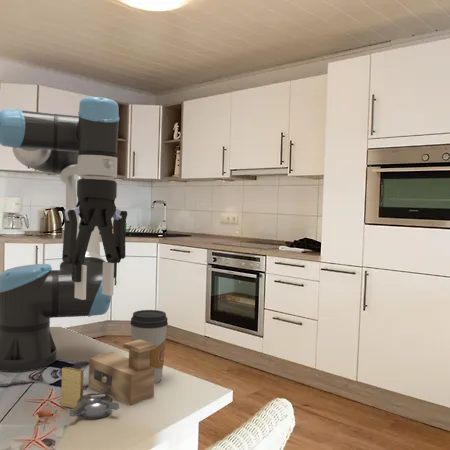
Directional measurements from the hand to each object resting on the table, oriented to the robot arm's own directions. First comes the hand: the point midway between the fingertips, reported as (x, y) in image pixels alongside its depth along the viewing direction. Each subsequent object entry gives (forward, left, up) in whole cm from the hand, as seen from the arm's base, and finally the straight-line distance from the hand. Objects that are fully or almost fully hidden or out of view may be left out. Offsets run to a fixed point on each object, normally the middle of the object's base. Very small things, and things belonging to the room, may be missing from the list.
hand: (94, 296), depth 94 cm
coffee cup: (-1, +15, -21) cm, 26 cm away
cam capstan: (+5, -3, -21) cm, 22 cm away
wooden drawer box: (+1, +7, -21) cm, 22 cm away
